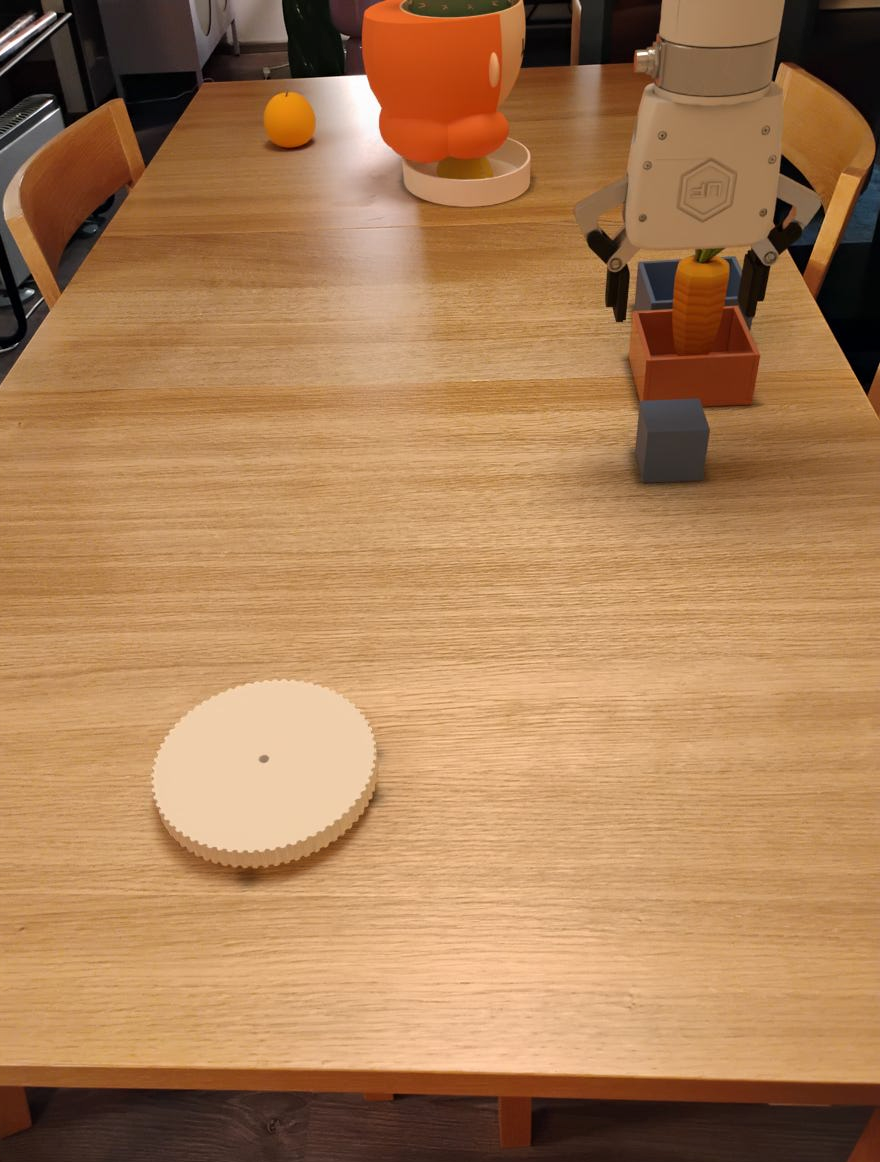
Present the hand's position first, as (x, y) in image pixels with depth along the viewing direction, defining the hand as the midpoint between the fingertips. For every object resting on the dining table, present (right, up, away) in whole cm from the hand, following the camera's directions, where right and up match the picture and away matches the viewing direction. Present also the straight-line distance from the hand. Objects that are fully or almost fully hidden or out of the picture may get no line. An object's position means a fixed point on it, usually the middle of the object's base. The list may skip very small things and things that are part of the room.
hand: (681, 312), depth 79 cm
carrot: (+6, 0, +19) cm, 20 cm away
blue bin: (+8, +7, +28) cm, 30 cm away
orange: (-39, +52, +82) cm, 105 cm away
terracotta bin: (+6, 0, +20) cm, 20 cm away
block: (+1, -10, +9) cm, 14 cm away
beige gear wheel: (-30, -35, -14) cm, 48 cm away
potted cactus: (-15, +38, +64) cm, 76 cm away
